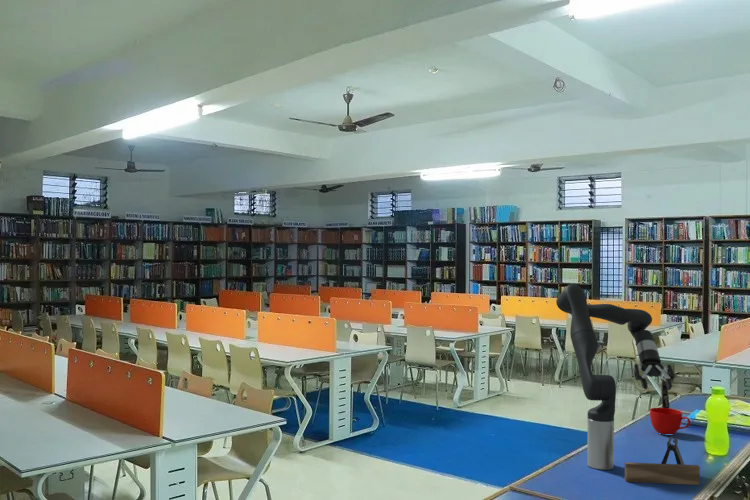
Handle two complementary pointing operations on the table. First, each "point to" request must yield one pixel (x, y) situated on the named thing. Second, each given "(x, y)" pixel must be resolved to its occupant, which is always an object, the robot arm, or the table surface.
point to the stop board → (662, 473)
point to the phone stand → (674, 449)
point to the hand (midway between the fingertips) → (657, 388)
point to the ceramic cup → (667, 420)
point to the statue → (664, 395)
